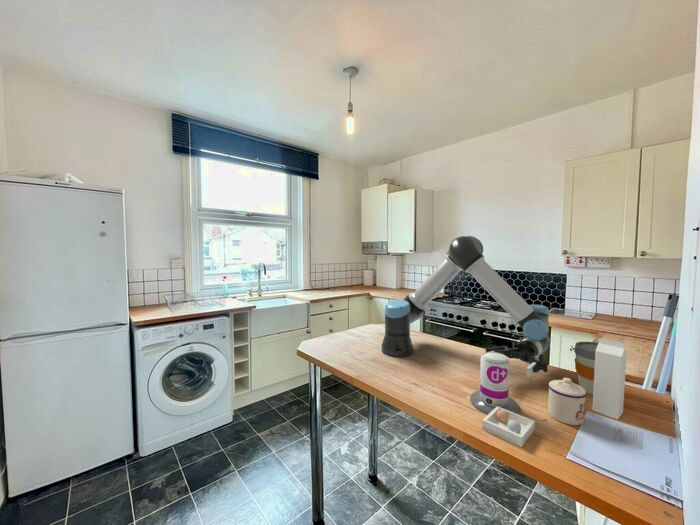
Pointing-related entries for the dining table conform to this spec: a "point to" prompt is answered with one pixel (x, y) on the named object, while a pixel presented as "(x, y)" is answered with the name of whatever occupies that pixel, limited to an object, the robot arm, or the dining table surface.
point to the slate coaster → (487, 409)
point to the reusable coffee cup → (585, 364)
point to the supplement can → (494, 379)
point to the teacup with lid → (566, 401)
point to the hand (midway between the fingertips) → (505, 365)
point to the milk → (609, 378)
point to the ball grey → (514, 426)
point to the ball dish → (501, 428)
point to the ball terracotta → (503, 415)
